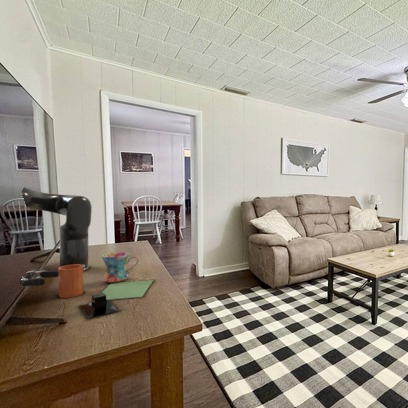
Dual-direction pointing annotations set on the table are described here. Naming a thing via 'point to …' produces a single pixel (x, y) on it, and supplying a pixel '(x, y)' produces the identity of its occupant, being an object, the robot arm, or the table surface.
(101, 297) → the black stand
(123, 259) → the mug
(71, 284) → the pot
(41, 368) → the table surface
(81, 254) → the robot arm
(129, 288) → the placemat
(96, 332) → the table surface
